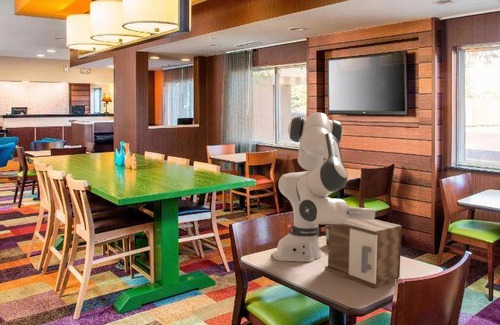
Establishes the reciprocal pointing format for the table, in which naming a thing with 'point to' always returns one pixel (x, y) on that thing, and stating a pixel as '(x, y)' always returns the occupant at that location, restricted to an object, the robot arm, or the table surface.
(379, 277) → the cabinet
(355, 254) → the sliding door
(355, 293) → the table surface
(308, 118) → the robot arm
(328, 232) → the food container
